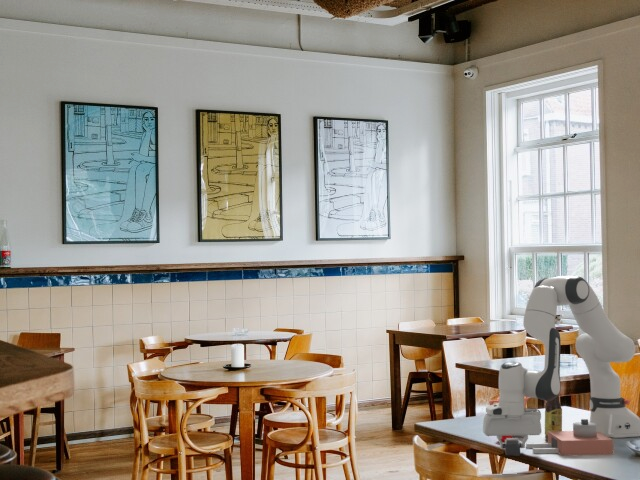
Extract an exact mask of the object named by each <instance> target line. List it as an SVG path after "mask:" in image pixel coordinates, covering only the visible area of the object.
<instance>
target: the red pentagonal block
mask: <svg viewBox="0 0 640 480" xmlns="http://www.w3.org/2000/svg"><path fill="white" fill-rule="evenodd" d="M506 438H514V437H513V436H502V439H501V441H502V443H505V440H506Z"/></svg>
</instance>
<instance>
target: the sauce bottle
mask: <svg viewBox="0 0 640 480" xmlns="http://www.w3.org/2000/svg"><path fill="white" fill-rule="evenodd" d="M559 396H560V393H559V394H558V396H557V397H556V398H554V399H553V400H551V401H545V406H544V409H545V410H544V435H545V436H544V438H545V440H546V441H548V431H563V408H562V406H561V402H560V398H559Z"/></svg>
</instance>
